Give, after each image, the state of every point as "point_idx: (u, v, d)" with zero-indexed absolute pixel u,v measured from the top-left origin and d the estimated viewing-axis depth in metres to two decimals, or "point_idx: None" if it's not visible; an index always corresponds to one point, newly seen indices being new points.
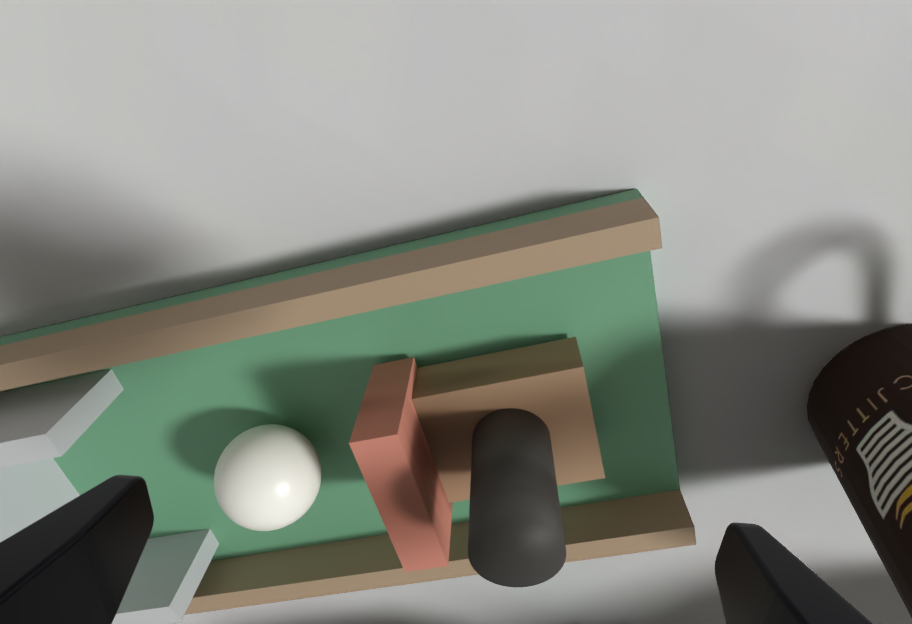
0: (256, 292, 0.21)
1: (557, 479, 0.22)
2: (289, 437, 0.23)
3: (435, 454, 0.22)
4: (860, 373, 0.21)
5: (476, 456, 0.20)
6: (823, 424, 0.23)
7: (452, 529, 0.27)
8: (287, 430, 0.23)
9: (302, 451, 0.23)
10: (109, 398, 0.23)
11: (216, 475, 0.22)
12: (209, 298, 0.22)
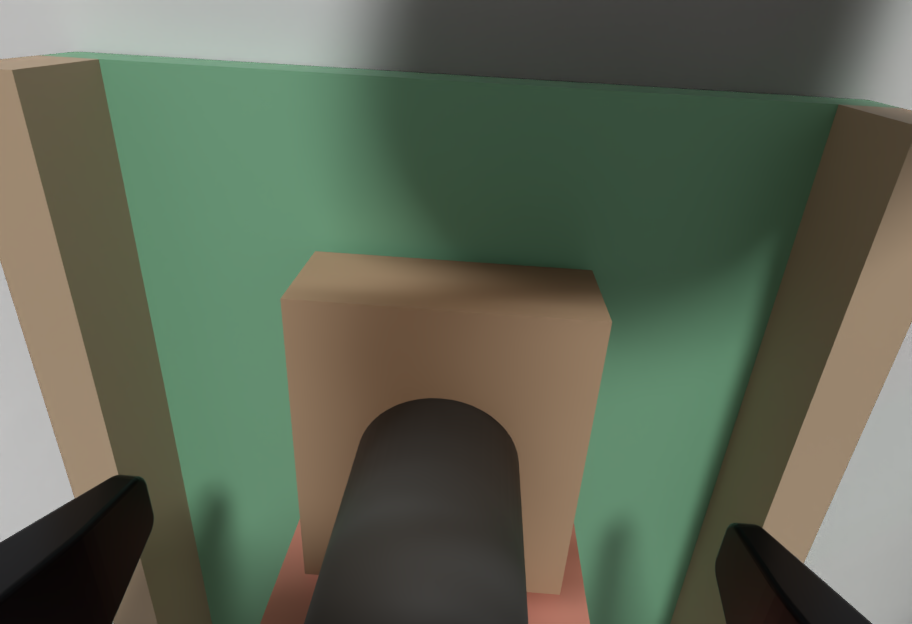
0: None
1: (575, 414, 0.10)
2: None
3: None
4: None
5: None
6: None
7: (698, 558, 0.14)
8: None
9: None
10: None
11: None
12: None
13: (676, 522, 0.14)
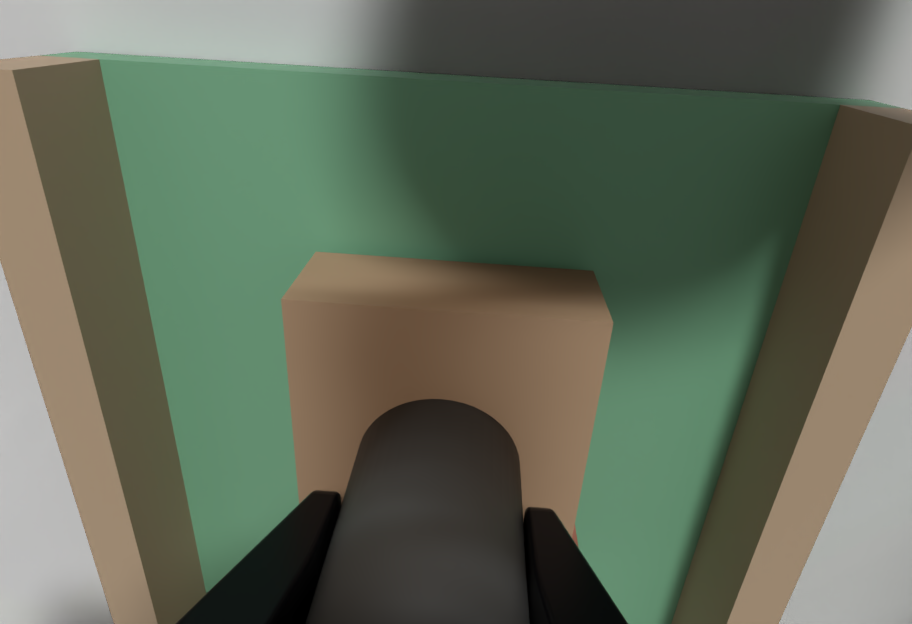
0: None
1: (576, 415, 0.10)
2: None
3: None
4: None
5: None
6: None
7: (699, 559, 0.14)
8: None
9: None
10: None
11: None
12: None
13: (677, 523, 0.14)
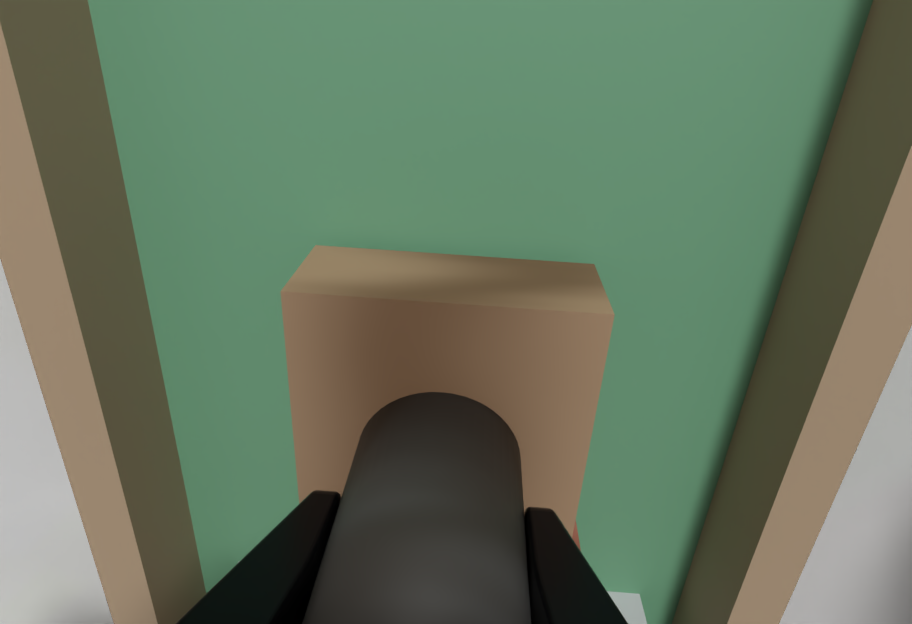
0: None
1: (577, 408, 0.10)
2: None
3: None
4: None
5: None
6: None
7: (839, 138, 0.10)
8: None
9: None
10: None
11: None
12: None
13: (807, 83, 0.09)
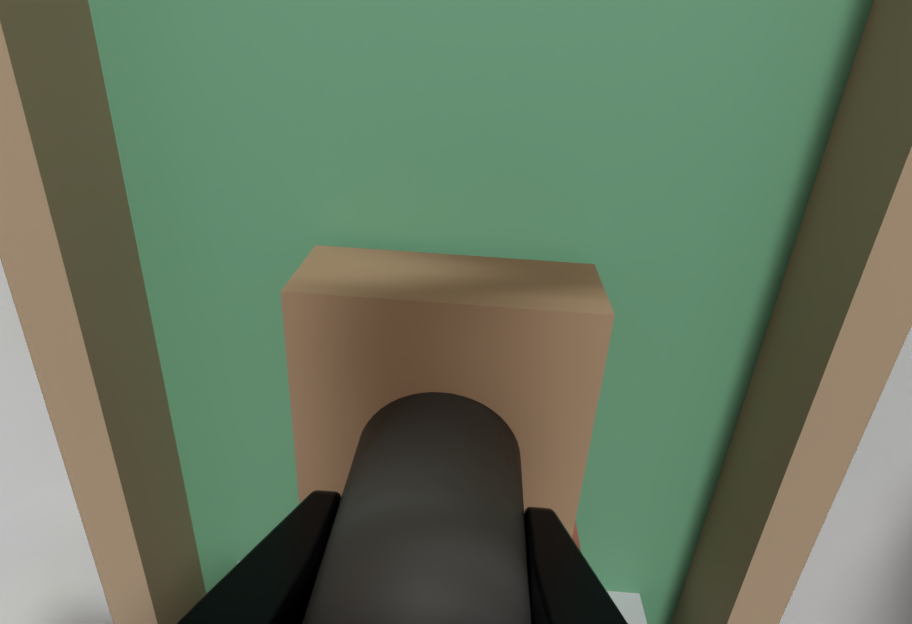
0: None
1: (577, 408, 0.10)
2: None
3: None
4: None
5: None
6: None
7: (839, 137, 0.09)
8: None
9: None
10: None
11: None
12: None
13: (808, 82, 0.09)
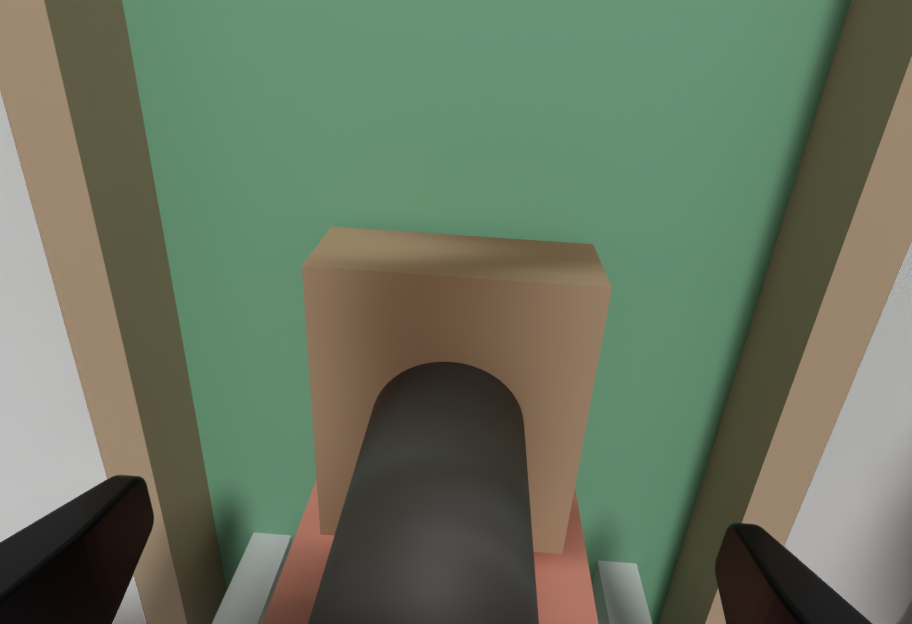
0: None
1: (577, 377, 0.10)
2: None
3: None
4: None
5: None
6: None
7: (822, 123, 0.10)
8: None
9: None
10: (272, 562, 0.15)
11: None
12: None
13: (792, 73, 0.10)
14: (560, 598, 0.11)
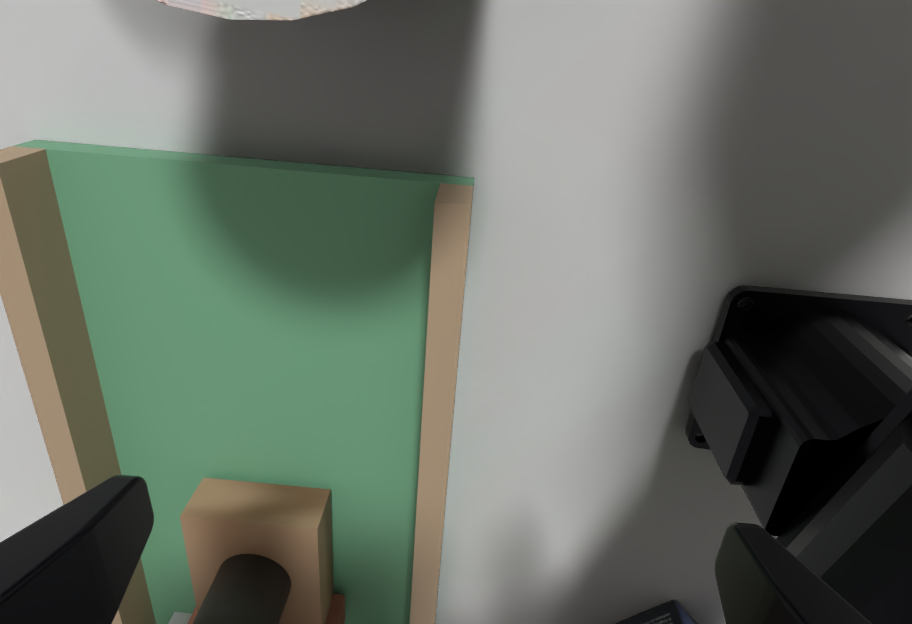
0: None
1: (310, 561, 0.22)
2: None
3: None
4: None
5: None
6: None
7: None
8: None
9: None
10: None
11: None
12: None
13: (408, 426, 0.22)
14: None
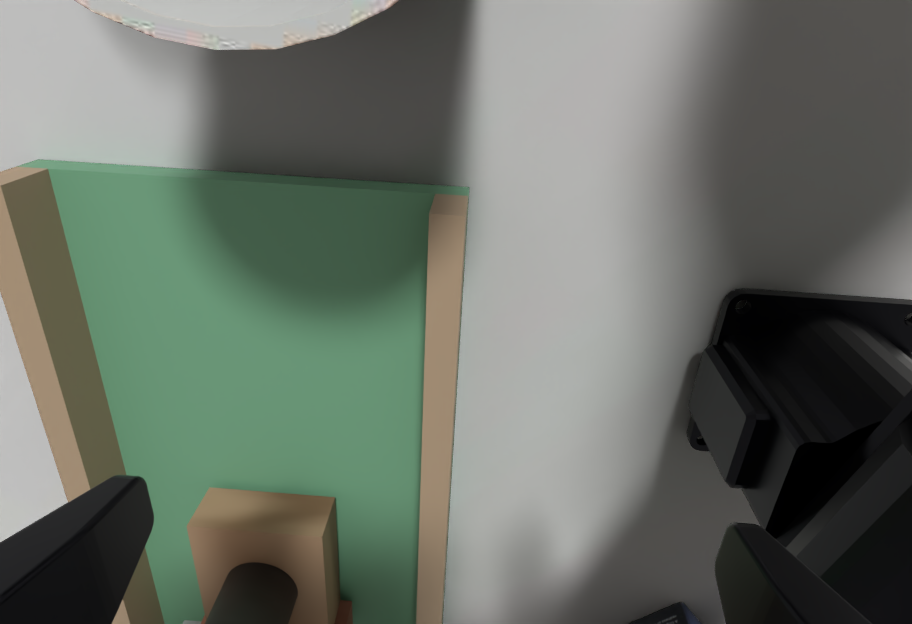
0: None
1: (316, 569, 0.23)
2: None
3: None
4: None
5: None
6: None
7: None
8: None
9: None
10: None
11: None
12: None
13: (410, 433, 0.22)
14: None
